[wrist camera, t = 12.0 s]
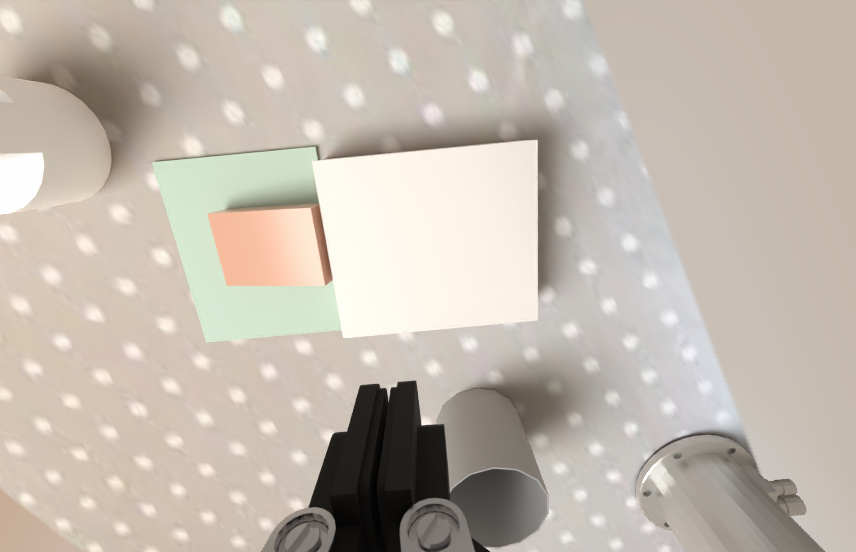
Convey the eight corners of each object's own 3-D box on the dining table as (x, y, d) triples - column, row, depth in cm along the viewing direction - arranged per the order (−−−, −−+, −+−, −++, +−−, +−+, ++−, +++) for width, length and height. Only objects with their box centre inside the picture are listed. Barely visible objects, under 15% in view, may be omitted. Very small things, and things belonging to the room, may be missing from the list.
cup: (421, 433, 40) (422, 522, 31) (466, 374, 38) (482, 450, 29) (487, 467, 42) (507, 561, 33) (535, 412, 40) (571, 496, 31)
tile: (323, 203, 30) (310, 207, 28) (336, 277, 32) (325, 285, 30) (225, 209, 32) (207, 213, 31) (242, 277, 34) (226, 285, 33)
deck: (523, 140, 32) (537, 139, 28) (525, 301, 36) (537, 320, 32) (324, 159, 32) (311, 161, 28) (351, 317, 36) (343, 338, 32)
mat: (316, 146, 31) (315, 146, 31) (347, 328, 36) (346, 329, 36) (154, 162, 31) (151, 162, 31) (208, 340, 37) (206, 342, 36)
